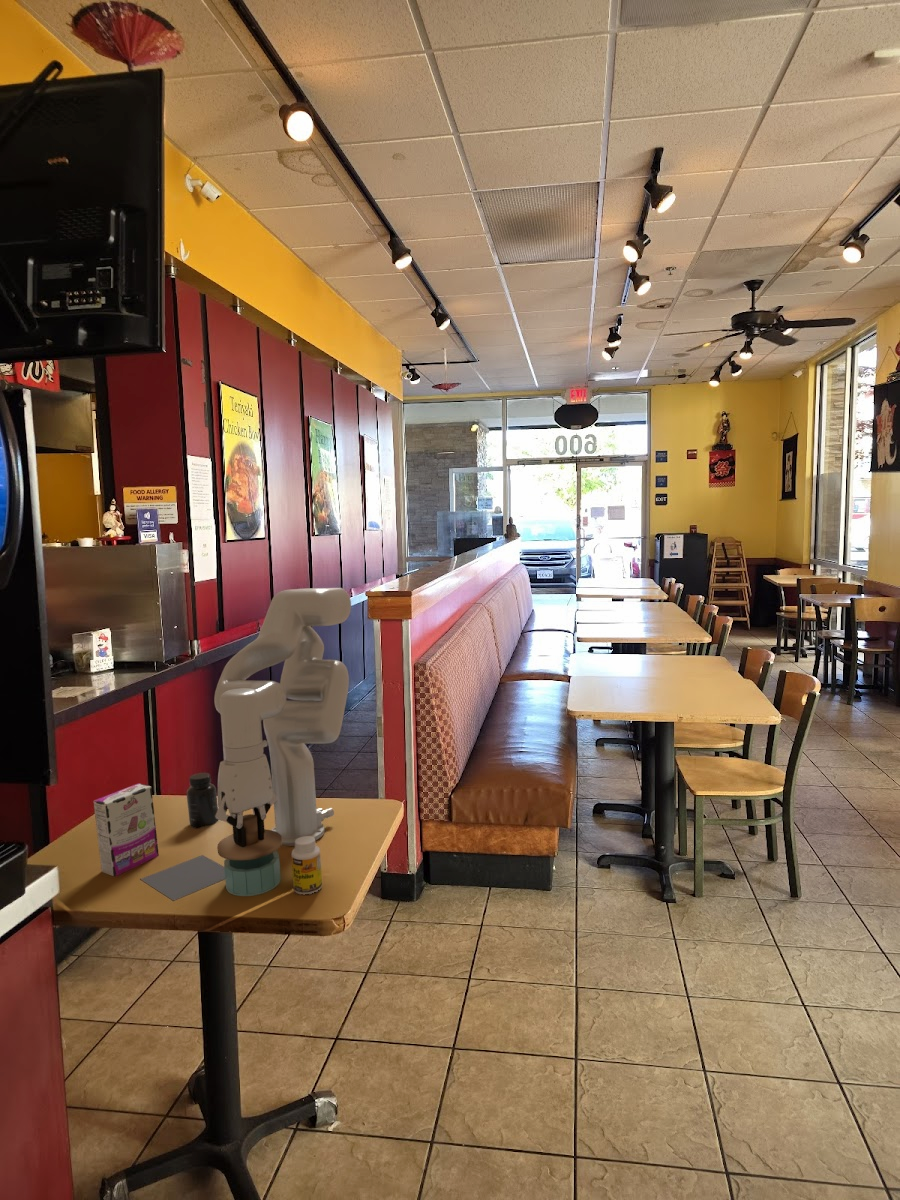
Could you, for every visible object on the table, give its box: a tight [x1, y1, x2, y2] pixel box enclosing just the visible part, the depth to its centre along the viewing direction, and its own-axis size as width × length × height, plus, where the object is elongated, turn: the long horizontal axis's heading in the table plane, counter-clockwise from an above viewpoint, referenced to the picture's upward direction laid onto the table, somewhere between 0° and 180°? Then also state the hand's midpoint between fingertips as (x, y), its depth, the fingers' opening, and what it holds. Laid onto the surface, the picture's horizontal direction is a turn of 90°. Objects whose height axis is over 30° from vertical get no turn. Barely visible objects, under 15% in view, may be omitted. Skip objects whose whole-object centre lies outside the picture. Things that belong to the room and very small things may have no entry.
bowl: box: [223, 850, 282, 897], centre depth 156 cm, size 11×11×6 cm
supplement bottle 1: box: [186, 772, 219, 829], centre depth 188 cm, size 7×7×12 cm
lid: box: [216, 813, 283, 860], centre depth 155 cm, size 12×12×6 cm
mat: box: [140, 854, 225, 902], centre depth 160 cm, size 14×14×1 cm
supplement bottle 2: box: [290, 836, 323, 896], centre depth 153 cm, size 6×6×10 cm
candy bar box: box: [92, 783, 160, 877], centre depth 166 cm, size 11×5×16 cm, turn 148°
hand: (249, 840), depth 155 cm, fingers closed on lid, 3 cm apart
